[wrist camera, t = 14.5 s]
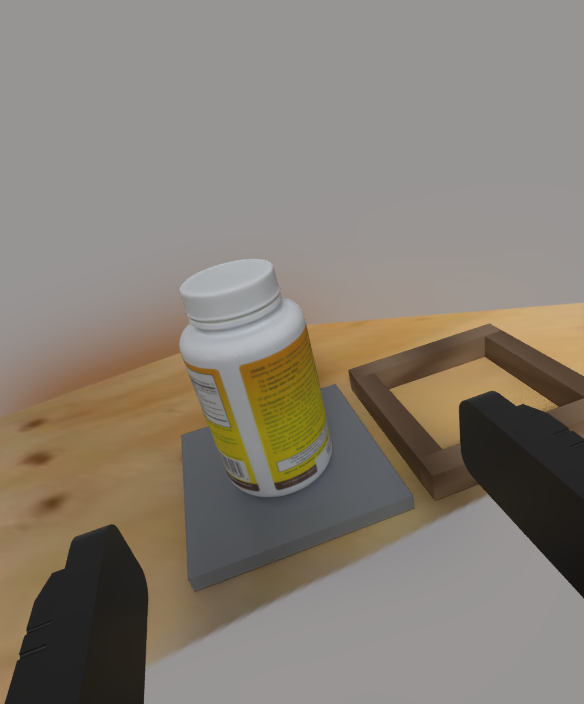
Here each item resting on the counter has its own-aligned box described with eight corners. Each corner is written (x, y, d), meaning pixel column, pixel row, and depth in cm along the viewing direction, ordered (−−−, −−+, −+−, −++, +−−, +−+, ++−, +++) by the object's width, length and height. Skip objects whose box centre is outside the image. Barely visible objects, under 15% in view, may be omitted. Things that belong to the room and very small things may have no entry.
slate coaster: (194, 591, 18) (188, 579, 18) (185, 445, 27) (181, 435, 26) (414, 508, 19) (412, 495, 19) (337, 394, 28) (335, 384, 28)
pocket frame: (434, 500, 19) (432, 476, 19) (351, 389, 28) (348, 370, 27) (625, 428, 21) (630, 402, 20) (489, 343, 29) (489, 323, 29)
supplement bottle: (341, 425, 24) (305, 244, 19) (324, 506, 19) (273, 294, 15) (247, 427, 26) (193, 260, 21) (212, 501, 21) (132, 310, 16)
